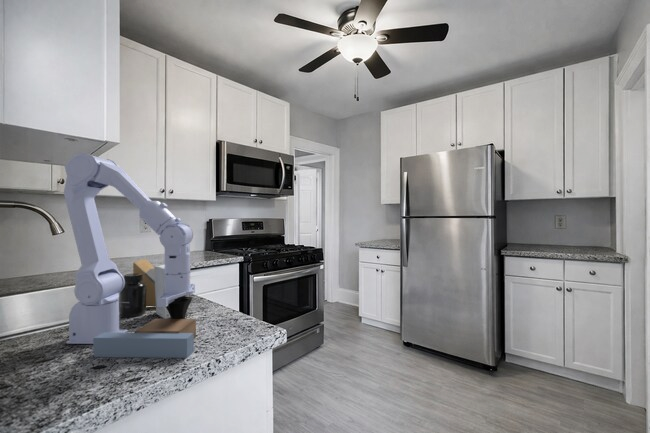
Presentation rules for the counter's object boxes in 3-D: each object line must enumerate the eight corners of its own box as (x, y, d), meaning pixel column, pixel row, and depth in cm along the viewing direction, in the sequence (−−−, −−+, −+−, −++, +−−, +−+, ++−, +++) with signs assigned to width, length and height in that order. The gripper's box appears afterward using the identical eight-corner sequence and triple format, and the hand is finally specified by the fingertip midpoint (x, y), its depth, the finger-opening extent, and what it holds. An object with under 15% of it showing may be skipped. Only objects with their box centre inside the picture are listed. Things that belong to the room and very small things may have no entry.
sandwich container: (183, 306, 101) (182, 260, 101) (133, 308, 100) (132, 262, 100) (191, 299, 110) (190, 257, 110) (145, 301, 108) (145, 258, 108)
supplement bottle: (117, 319, 89) (117, 277, 89) (122, 312, 95) (121, 273, 95) (145, 316, 92) (144, 275, 92) (147, 309, 98) (147, 271, 98)
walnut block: (134, 351, 68) (134, 330, 68) (155, 337, 76) (155, 318, 76) (179, 351, 68) (179, 331, 68) (195, 337, 76) (195, 318, 76)
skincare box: (184, 315, 92) (184, 265, 92) (162, 320, 88) (162, 267, 88) (174, 309, 98) (174, 262, 98) (153, 313, 94) (153, 264, 94)
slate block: (93, 356, 65) (93, 337, 65) (104, 350, 68) (104, 332, 68) (187, 357, 65) (187, 338, 65) (193, 351, 68) (193, 333, 68)
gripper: (178, 278, 69) (179, 339, 69) (205, 267, 84) (206, 317, 84) (147, 278, 69) (148, 339, 70) (180, 267, 84) (180, 317, 84)
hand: (178, 327), depth 77 cm, fingers closed
